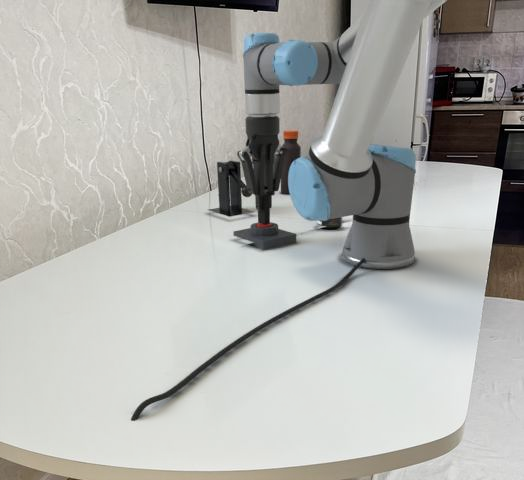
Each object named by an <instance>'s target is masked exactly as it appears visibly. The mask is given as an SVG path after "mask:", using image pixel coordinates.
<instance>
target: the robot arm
mask: <svg viewBox="0 0 524 480" xmlns="http://www.w3.org/2000/svg"><path fill="white" fill-rule="evenodd" d="M447 1H448V0H367V1H366V4H365V8H364V11H363V13H362V15H361V16H360V17H358V19H356V20H355V22H353V23H352V24H351V25H350V27H348V28H347V29H346V30H345V31H344V32H343V33H342V34H341V35H340V36H338V37H337V39H335V40H334V41H330V42H329V41H328V42H322V41H306V40H300V39H296V40H295V39H289V40H287V41H281V42H280V37H279V35H278V34H277V33H274V32H256V33H247V34H246V35H245V36H244V39H243V53H242V58H243V79H244V82H243V83H244V111H245V114H246V115H247V116H246V118H245V134H246V141H245V147H244V148H243V149H242V150H238V151H237V152H236V155H237V157H238V159H239V162H240V164H241V168H242V172H243V176H244V181H245V185H246V186H247V190H248V193H251V194H252V195H254V197H255V199H254V201H255V210H257V223H261V224H270V222H271V209H272V207H273V198H272V197H273V196H275V194H276V192H278V191H279V190H280V187H281V174H282V168H283V163H284V158H285V156H286V154H287V151H288V149H287V148H286V147H282V144H280V140H279V134H280V132H281V131H280V127H281V125H280V124H281V123H280V121H281V120H280V117H279V116H278V114H280V112H281V107H280V106H281V104H280V103H281V101H280V86H289V87H294V86H296V87H297V86H307V85H308V86H309V85H310V86H311V85H338V89H337V91H336V94H335V98H334V100H333V104H332V107H331V110H330V112H329V116H328V119H327V122H326V124H325V128H324V131H323V132H322V133H321V134H318V135H316V136H315V137H313V139H312V140H311V143H310V147H309V149H308V152H307V156H301V157H300V158H298V159H297V160H294V161H293V162H292V164H291V166H290V169H289V174H288V187H289V192H290V194H289V196H290V200H291V202H292V205H293V207H294V209H295V211H296V212H297V213H298V215H299V216H300V217H302V218H303V219H304V220H307V221H310V222H317V221H320V220H322V221H326V220H328V219H334V218H339V217H342V218H344V217H352V222H351V225H350V228H349V231H348V233H347V236H346V239H345V241H344V243H343V247H342V250H341V251H342V253H341V258H342V260H343V261H344V262H345V263H347V264H349V265H352V266H353V267H352V268H351V269H350V271H349V272H348V273H347V274H346V275H345V276H344V277H343V278H342V279H340V281H338V282H337V283H336V284H334V285H332V286H331V287H330V288H328V289H326V290H323V291H322V292H320V293H318V294H316V295H313V296H312V297H310V298H308V299H306V300H304V301H302V302H299V303H298V304H296V305H294V306H292V307H290V308H288V309H287V310H284V311H283V312H281V313H279V314H277V315H275V316H273V317H271V318H270V319H268V320H266V321H264V322H263V323H261V324H259V325H258V326H256V327H254V328H253V329H250V330H249V331H247V332H246V333H244V334H243V335H242V336H240V337H239V338H237V339H236V340H234V341H232V342H231V343H230V344H228V345H227V346H225V347H223V349H221V350H219V351H218V352H217V353H216V354H214V355H213V356H211V357H210V358H209V359H207V360H206V361H205V362H204V363H202V364H201V365H199V366H198V367H196V369H194V370H193V371H192V372H191V373H189V374H188V375H187V376H186V377H185V378H184V379H182V380H181V381H180V382H178V383H177V384H176V385H174V386H173V387H171V388H170V389H168V390H167V391H164V392H163V393H160V394H157V395H154V396H152V397H149V398H147V399H145V400H143V401H142V402H140V404H139V405H138V406H137V407H136V408H135V410H134V412H133V413H132V416H131V418H130V421H131V422H133V421H134V422H136V421H137V420H138V419H139V417H140V416H141V414H142V413H143V411H144V410H145V409H146V408H147V407H148V406H150V405H152V404H154V403H157V402H161V401H163V400H165V399H168V398H170V397H172V396H173V395H174V394H176V393H177V392H178V391H180V390H181V389H182V388H184V387H185V386H186V385H188V384H189V383H190V382H191V381H193V380H194V379H195V378H196V377H197V376H199V375H200V374H201V373H202V372H203V371H205V370H206V369H207V368H208V367H210V366H211V365H212V364H214V363H215V362H216V361H218V360H219V359H220V358H222V357H223V356H224V355H227V353H228V352H230V351H231V350H233V349H234V348H236V347H237V346H238V345H241V343H243V342H244V341H246V340H247V339H249V338H250V337H252V336H253V335H255V334H257V333H258V332H260V331H261V330H263V329H265V328H267V327H268V326H270V325H272V324H273V323H275V322H278V321H279V320H280V319H282V318H284V317H286V316H288V315H290V314H292V313H294V312H295V311H297V310H299V309H301V308H303V307H305V306H307V305H309V304H310V303H313V302H315V301H316V300H318V299H321V298H323V297H325V296H326V295H328V294H330V293H332V292H334V291H335V290H337V289H338V288H340V287H341V286H342V285H343V284H344V283H345V282H346V281H347V280H348V279H350V277H351V276H353V274H354V273H355V272H356V271H357V270H358V269H359V268H363V269H372V270H394V269H401V268H405V267H408V266H411V265H412V264H413V263H414V261H415V255H416V253H415V252H416V251H415V245H414V242H413V241H414V240H413V236H412V232H411V227H410V218H411V210H412V204H413V203H412V202H413V194H414V185H415V179H416V178H415V177H416V173H417V169H416V161H417V155H416V153H415V151H414V150H413V149H411V148H408V147H401V146H392V145H382V144H374V143H373V142H374V139H375V136H376V135H377V131H378V129H379V127H380V125H381V123H382V120H383V117H384V115H385V113H386V111H387V107H388V105H389V104H390V101H391V98H392V96H393V93H394V91H395V88H396V85H397V83H398V81H399V79H400V76H401V74H402V71H403V69H404V66H405V64H406V61H407V60H408V58H409V54H410V53H411V50H412V48H413V45H414V43H415V40H416V38H417V35H418V33H419V30H420V29H421V25H422V23H423V21H424V20H425V19H426V18H428V16H430V15H431V14H432V13H433V12H434V11H436V10H438V8H440V7H441V6H442V5H444V3H446V2H447Z"/></svg>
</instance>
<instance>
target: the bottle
mask: <svg viewBox="0 0 524 480" xmlns="http://www.w3.org/2000/svg"><path fill="white" fill-rule="evenodd" d="M298 140H299V131H298V130H284V131H283V141H284V143H283V144H281V146H282V147H286V148H287V149H288V151H287V154H286V156H285V158H284V163H283V168H282V174H281V180H280V193H281V194H283V195H290V192H289V187H288V174H289V169H290V166H291V164H292V162H293V161H294V160H297V159H298V158H300V157H302V154H301V153H302V152H301V151H302V148H301V146H300V144H299V143H298Z"/></svg>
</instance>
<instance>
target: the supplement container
mask: <svg viewBox="0 0 524 480" xmlns="http://www.w3.org/2000/svg"><path fill="white" fill-rule="evenodd" d="M316 225H317V226H320V227H318V229H319V230H323V231H337V230H339V229H341V228H342V226H343V217H339V218H334V219H328V220H326V221H322V220H320V221H316ZM321 226H322V227H321Z"/></svg>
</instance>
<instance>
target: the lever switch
mask: <svg viewBox="0 0 524 480" xmlns="http://www.w3.org/2000/svg"><path fill="white" fill-rule="evenodd" d="M224 162H225V161H224ZM224 162H222V161H217V162H216V167H217V168H216V171H217V190H218V207H214V208H208V211H210V212H213V213H215V214H220V215H223V216H226V217H228V218H229V217H235V216H241V215H245V214H251V213H255V210H249V209H247V208H243V205H242V204H243V201H242V199H243V198H242V192H241V190H242V188H241V187H240V186H239V185H238V183H237V182H236V181H235V180H234V178H233V177H232V176H231V175H229V164H228V163H224ZM228 162H231V163H232V164H233V165H234V166H235V171H234V172H235V173H236V174H237V175H238V176H239V178H240V179H241V180H242V173H241V161H237V160H232V159H231V160H228Z"/></svg>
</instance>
